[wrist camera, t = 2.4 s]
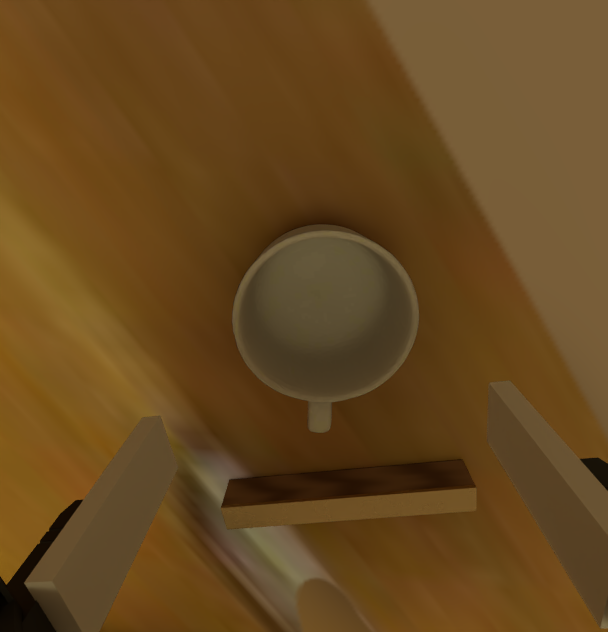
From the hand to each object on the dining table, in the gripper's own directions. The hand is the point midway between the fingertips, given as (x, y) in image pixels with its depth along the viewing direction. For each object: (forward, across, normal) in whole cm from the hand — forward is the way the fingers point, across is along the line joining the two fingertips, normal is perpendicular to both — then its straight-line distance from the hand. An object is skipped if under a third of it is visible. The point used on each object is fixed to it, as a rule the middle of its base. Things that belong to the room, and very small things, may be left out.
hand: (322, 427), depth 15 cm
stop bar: (+15, 0, +18) cm, 24 cm away
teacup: (+16, 0, 0) cm, 16 cm away
